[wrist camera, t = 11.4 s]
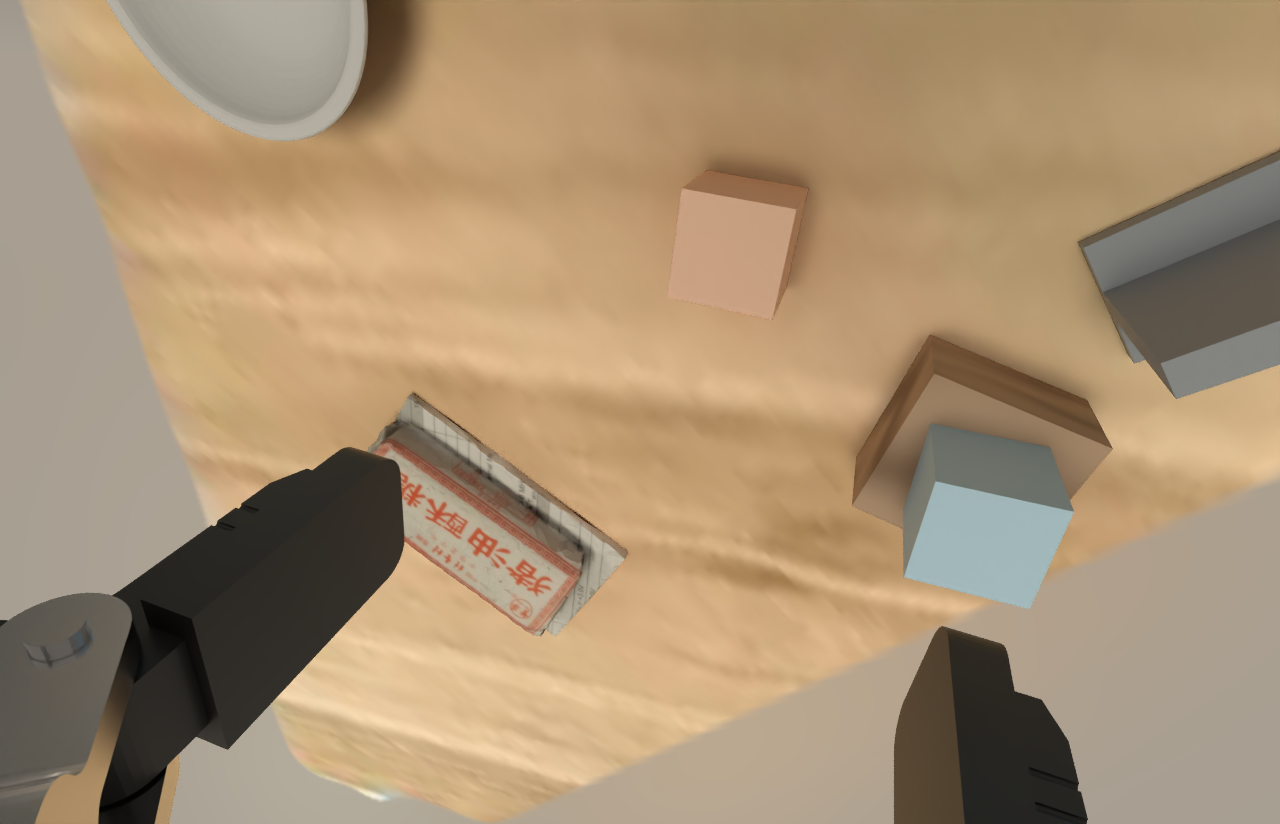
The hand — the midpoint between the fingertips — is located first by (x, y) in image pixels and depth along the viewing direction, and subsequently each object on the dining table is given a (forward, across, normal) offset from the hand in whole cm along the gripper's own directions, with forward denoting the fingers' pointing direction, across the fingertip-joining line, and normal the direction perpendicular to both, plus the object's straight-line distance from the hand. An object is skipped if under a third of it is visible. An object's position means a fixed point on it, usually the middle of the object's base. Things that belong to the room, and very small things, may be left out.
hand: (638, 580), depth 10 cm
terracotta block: (+28, +3, +2) cm, 28 cm away
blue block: (+23, -10, +10) cm, 27 cm away
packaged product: (+29, +17, +25) cm, 42 cm away
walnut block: (+28, -10, +10) cm, 32 cm away
